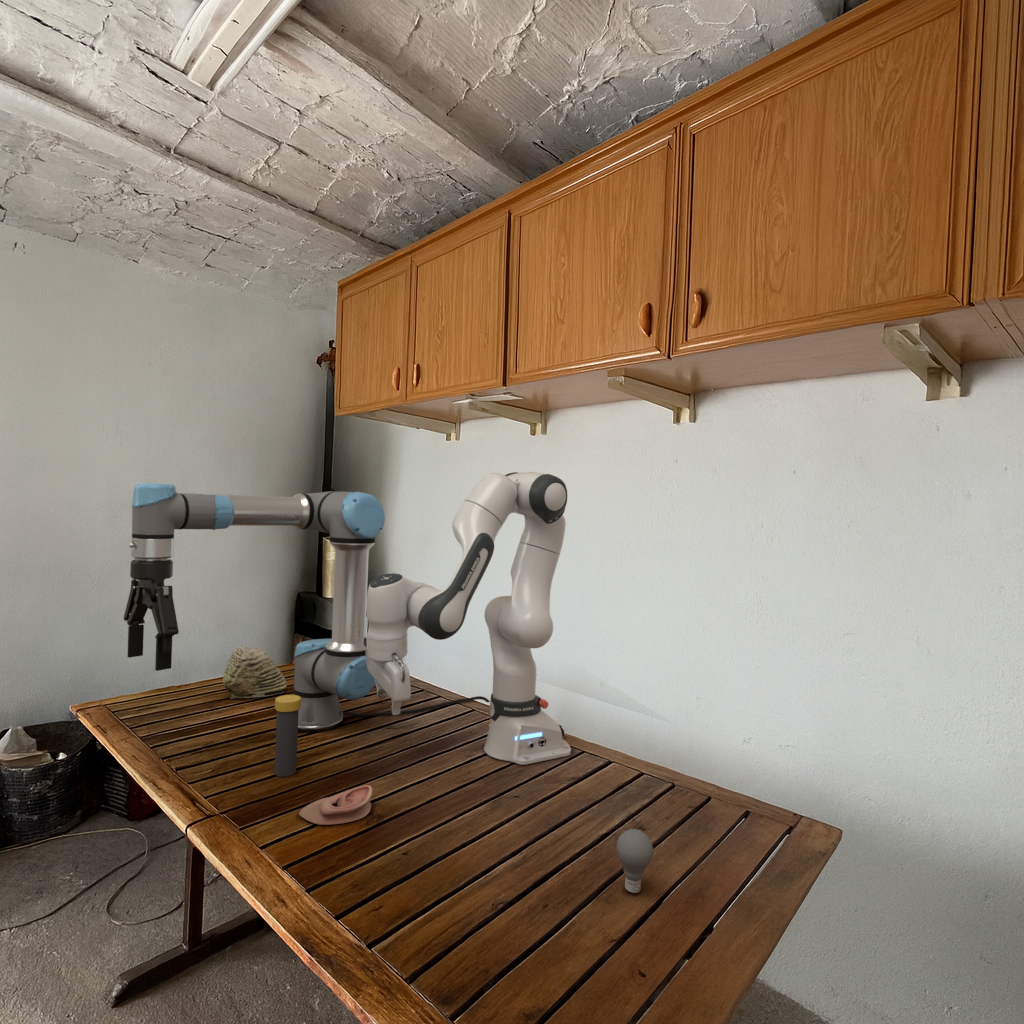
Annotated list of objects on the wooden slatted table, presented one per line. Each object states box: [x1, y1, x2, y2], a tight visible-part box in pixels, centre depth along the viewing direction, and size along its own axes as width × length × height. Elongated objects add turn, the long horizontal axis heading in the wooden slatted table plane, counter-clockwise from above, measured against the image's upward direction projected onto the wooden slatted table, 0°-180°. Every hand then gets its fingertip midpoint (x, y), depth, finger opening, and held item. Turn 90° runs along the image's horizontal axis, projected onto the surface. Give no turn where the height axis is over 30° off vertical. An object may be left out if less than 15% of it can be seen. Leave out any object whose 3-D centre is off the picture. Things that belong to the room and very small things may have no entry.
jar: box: [274, 709, 299, 778], centre depth 144 cm, size 5×5×16 cm
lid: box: [274, 694, 301, 712], centre depth 144 cm, size 6×6×2 cm
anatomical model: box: [298, 784, 373, 826], centre depth 127 cm, size 13×4×12 cm
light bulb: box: [615, 828, 654, 894], centre depth 106 cm, size 6×6×10 cm
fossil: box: [222, 646, 288, 699], centre depth 198 cm, size 9×18×15 cm, turn 132°
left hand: (148, 662), depth 129 cm, fingers open, 13 cm apart
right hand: (388, 704), depth 144 cm, fingers open, 8 cm apart
